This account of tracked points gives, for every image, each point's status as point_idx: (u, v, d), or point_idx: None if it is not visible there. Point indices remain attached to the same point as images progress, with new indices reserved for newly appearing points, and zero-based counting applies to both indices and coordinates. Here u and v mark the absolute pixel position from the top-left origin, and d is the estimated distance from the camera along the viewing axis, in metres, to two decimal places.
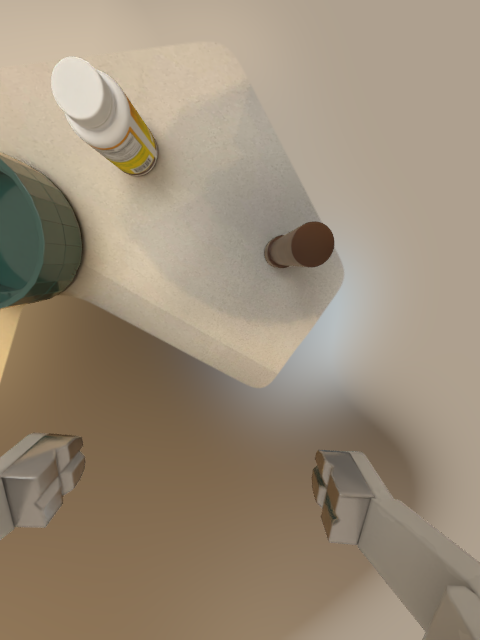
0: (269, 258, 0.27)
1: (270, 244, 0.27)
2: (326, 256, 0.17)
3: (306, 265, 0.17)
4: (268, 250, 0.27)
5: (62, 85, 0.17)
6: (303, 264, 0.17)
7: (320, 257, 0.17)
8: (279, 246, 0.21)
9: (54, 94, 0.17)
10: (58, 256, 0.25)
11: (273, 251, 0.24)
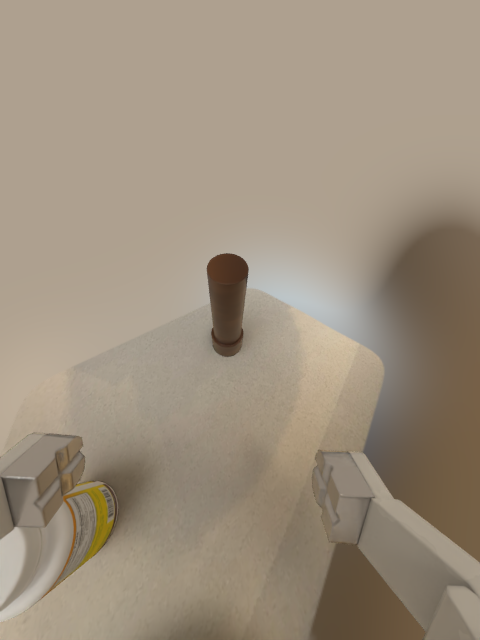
0: (233, 345, 0.26)
1: (219, 344, 0.26)
2: (238, 258, 0.18)
3: (246, 272, 0.17)
4: (225, 346, 0.26)
5: None
6: (245, 274, 0.17)
7: (239, 262, 0.18)
8: (224, 317, 0.21)
9: None
10: None
11: (227, 333, 0.24)
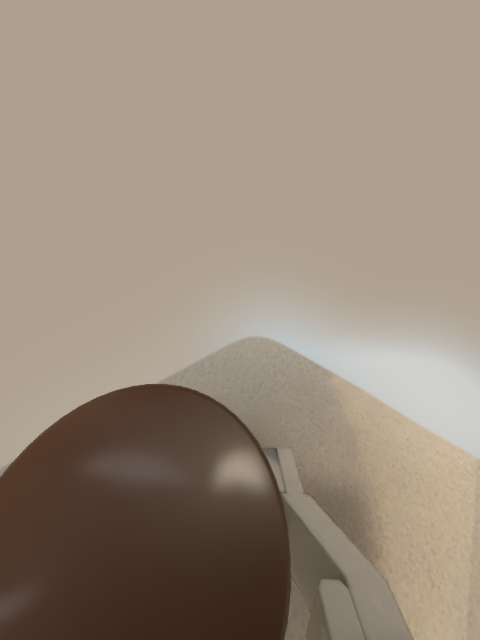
0: None
1: None
2: (219, 428, 0.03)
3: (281, 606, 0.02)
4: None
5: None
6: None
7: (223, 471, 0.03)
8: None
9: None
10: None
11: None
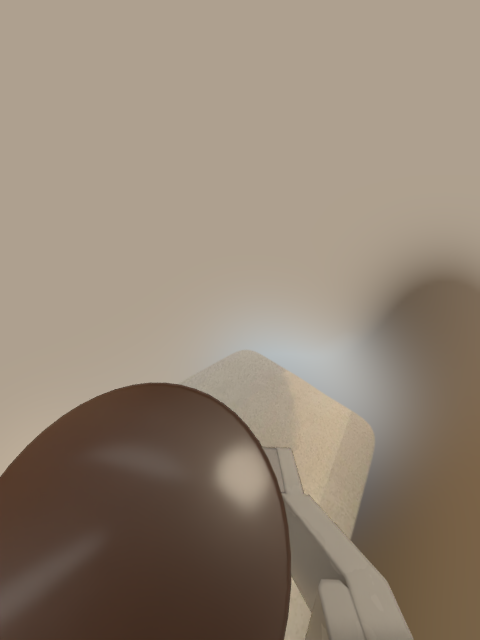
0: None
1: None
2: (219, 426, 0.03)
3: (281, 604, 0.02)
4: None
5: None
6: None
7: (223, 470, 0.03)
8: None
9: None
10: None
11: None
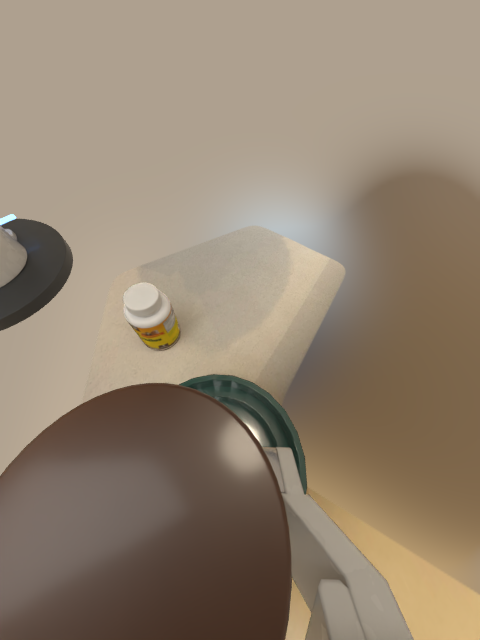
0: None
1: None
2: (219, 427, 0.03)
3: (281, 607, 0.02)
4: None
5: (137, 303, 0.25)
6: None
7: (223, 471, 0.02)
8: None
9: (140, 308, 0.25)
10: None
11: None
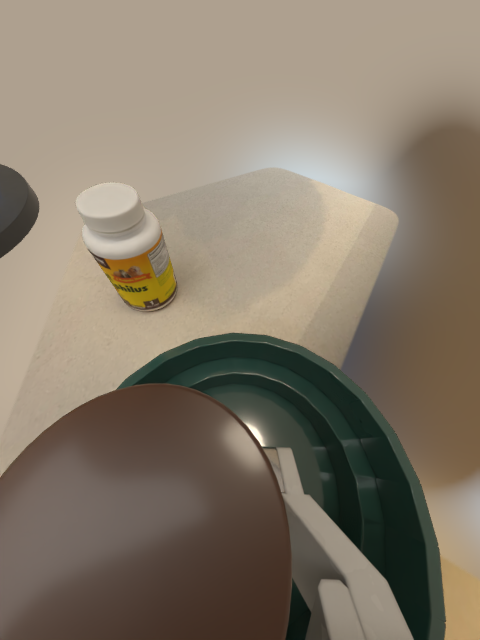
0: None
1: None
2: (219, 427, 0.03)
3: (282, 606, 0.02)
4: None
5: (99, 207, 0.14)
6: None
7: (223, 471, 0.03)
8: None
9: (105, 214, 0.14)
10: None
11: None
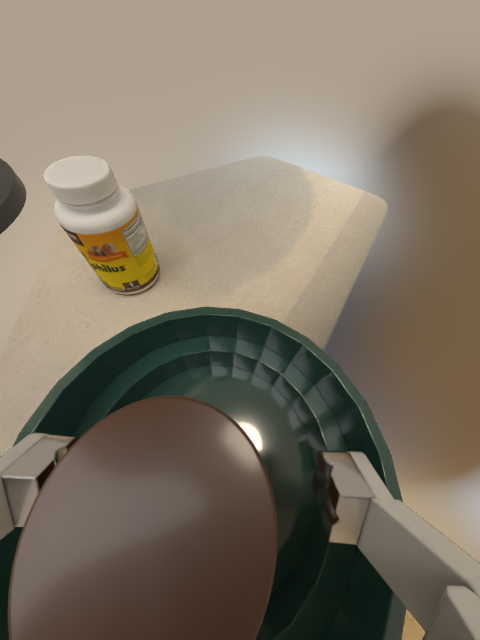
0: None
1: None
2: (222, 432, 0.03)
3: (269, 566, 0.03)
4: None
5: (68, 178, 0.14)
6: (264, 595, 0.03)
7: (225, 466, 0.03)
8: None
9: (73, 184, 0.14)
10: None
11: None
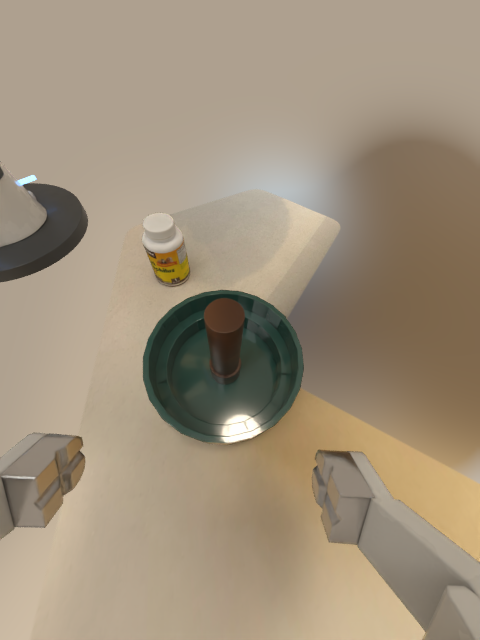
0: (231, 375, 0.26)
1: (217, 374, 0.26)
2: (235, 303, 0.18)
3: (243, 319, 0.17)
4: (223, 376, 0.26)
5: (155, 227, 0.29)
6: (242, 322, 0.17)
7: (236, 308, 0.18)
8: (221, 355, 0.21)
9: (158, 230, 0.28)
10: None
11: (225, 367, 0.24)
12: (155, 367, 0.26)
